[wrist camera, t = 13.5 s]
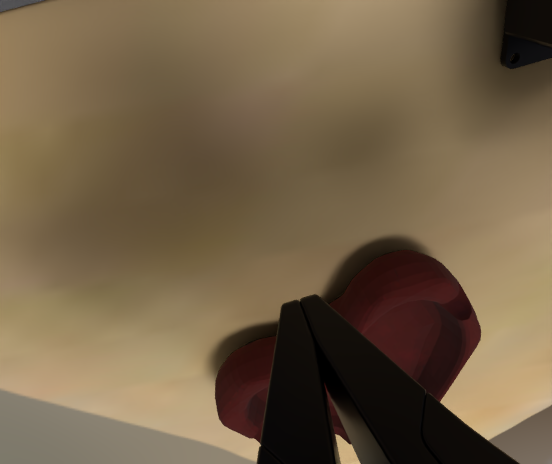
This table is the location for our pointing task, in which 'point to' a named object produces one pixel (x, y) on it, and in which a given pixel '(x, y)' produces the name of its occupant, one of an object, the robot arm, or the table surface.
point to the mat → (15, 3)
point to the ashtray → (371, 336)
